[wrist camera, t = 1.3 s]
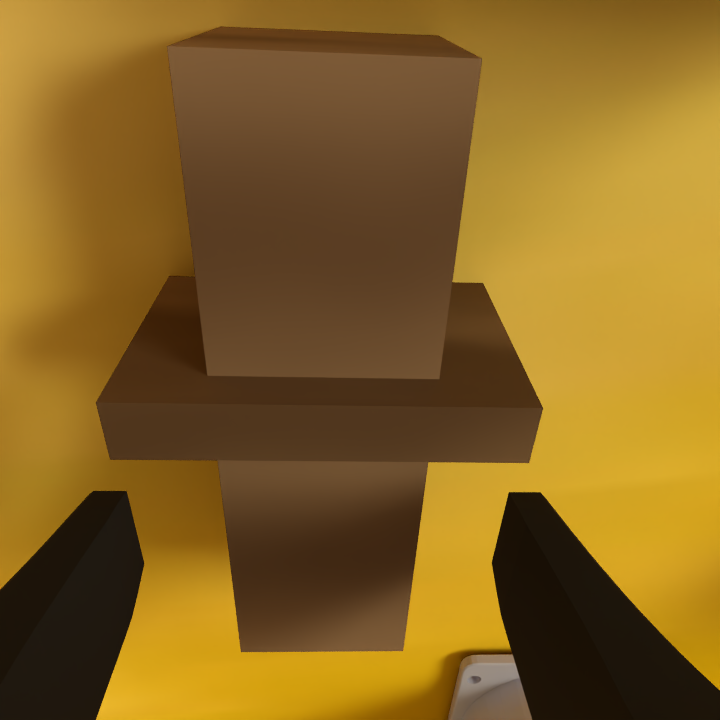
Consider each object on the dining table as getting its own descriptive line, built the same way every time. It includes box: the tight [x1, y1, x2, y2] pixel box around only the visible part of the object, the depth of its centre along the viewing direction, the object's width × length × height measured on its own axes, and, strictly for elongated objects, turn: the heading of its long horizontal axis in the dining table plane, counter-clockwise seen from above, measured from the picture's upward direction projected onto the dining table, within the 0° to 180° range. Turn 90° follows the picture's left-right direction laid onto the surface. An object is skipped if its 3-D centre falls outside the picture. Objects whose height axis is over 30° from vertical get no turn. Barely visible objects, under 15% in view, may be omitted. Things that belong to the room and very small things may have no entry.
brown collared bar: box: [96, 27, 543, 652], centre depth 12 cm, size 13×7×5 cm, turn 178°
